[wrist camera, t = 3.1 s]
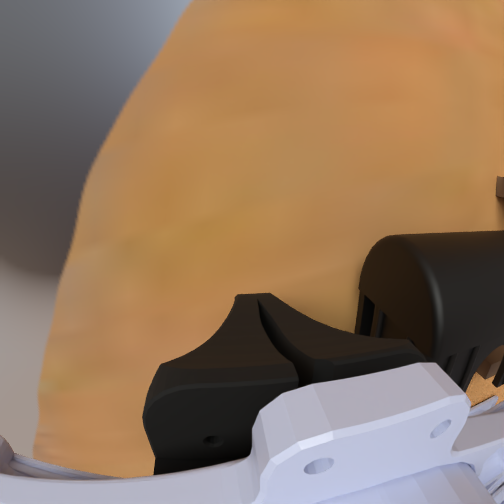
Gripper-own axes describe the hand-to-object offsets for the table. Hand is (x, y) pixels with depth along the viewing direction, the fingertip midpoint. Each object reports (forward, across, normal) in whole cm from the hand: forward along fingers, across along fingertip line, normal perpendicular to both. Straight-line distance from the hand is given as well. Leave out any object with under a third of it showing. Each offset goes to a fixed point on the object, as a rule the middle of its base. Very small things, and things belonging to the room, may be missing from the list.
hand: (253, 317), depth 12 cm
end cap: (+2, -10, 0) cm, 10 cm away
